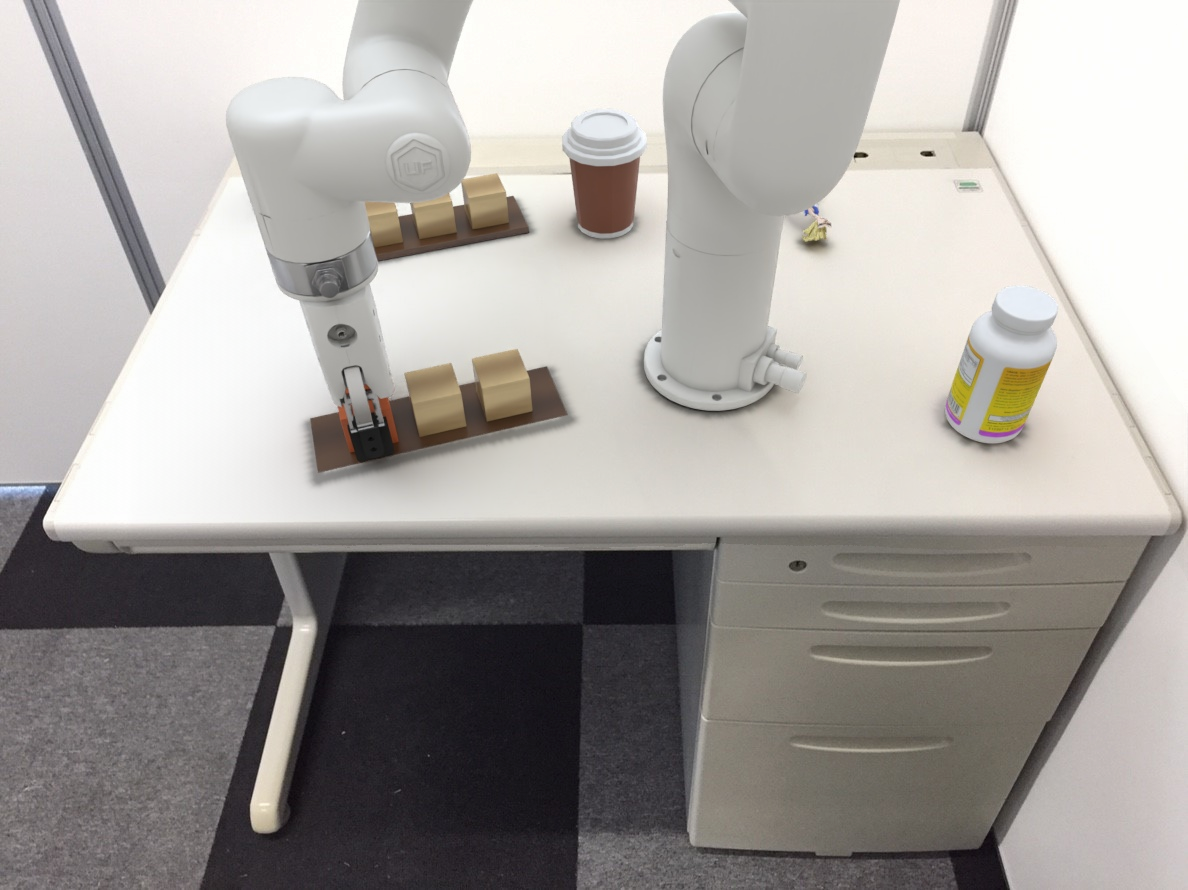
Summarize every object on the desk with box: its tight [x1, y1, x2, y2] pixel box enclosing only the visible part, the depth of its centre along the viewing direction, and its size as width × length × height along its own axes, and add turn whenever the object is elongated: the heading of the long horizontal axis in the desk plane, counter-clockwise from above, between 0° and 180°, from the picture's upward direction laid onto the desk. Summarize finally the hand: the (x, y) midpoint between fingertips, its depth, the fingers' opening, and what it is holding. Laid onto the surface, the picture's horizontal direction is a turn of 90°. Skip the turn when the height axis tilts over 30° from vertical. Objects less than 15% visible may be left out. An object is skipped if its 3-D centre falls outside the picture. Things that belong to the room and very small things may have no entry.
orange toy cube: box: [337, 384, 399, 453], centre depth 79 cm, size 4×4×4 cm
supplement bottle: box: [944, 284, 1059, 444], centre depth 76 cm, size 7×7×13 cm
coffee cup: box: [561, 108, 648, 240], centre depth 100 cm, size 9×9×12 cm
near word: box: [309, 348, 568, 474], centre depth 80 cm, size 7×22×5 cm, turn 108°
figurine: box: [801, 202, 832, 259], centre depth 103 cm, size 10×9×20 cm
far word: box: [365, 173, 530, 262], centre depth 101 cm, size 7×26×5 cm, turn 108°
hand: (370, 428), depth 80 cm, fingers open, 5 cm apart
